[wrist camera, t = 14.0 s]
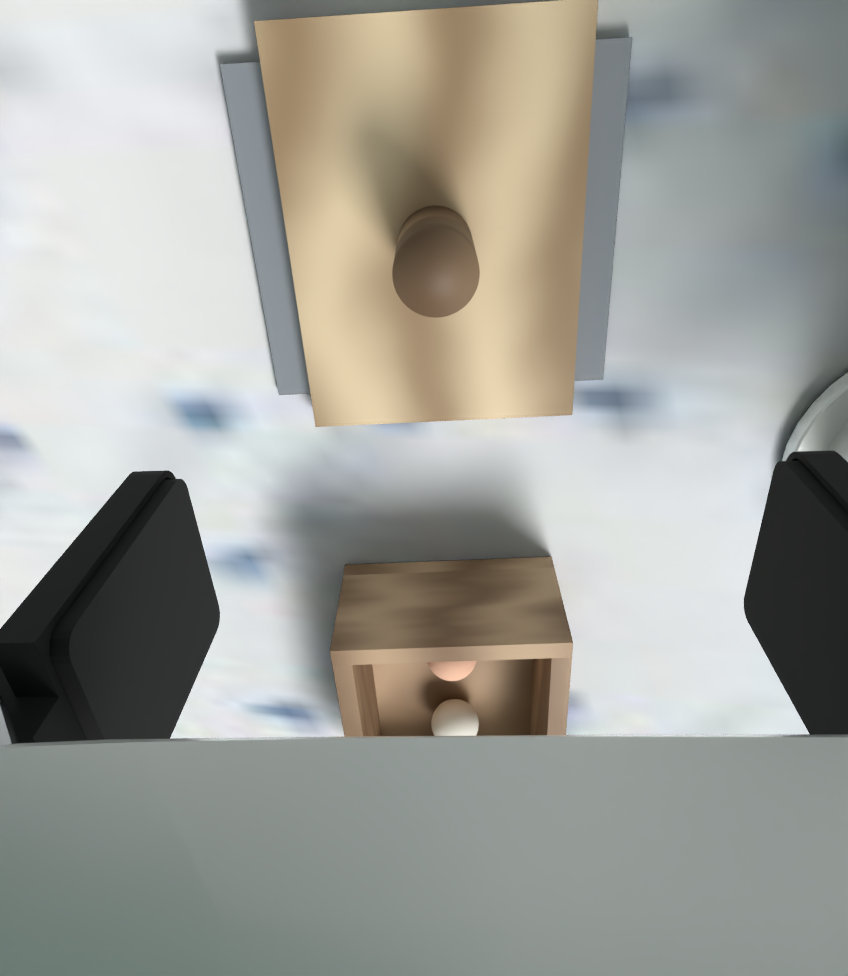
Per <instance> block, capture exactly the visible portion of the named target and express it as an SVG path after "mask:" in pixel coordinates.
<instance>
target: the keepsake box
mask: <svg viewBox="0 0 848 976" xmlns="http://www.w3.org/2000/svg"><path fill="white" fill-rule="evenodd" d="M572 649H573V641H572V637H571V633H570V629H569V625H568V621H567V617H566V613H565V609H564V605H563V601H562V597H561V593H560V589H559V585H558V581H557V577H556V573H555V569H554V565H553V561H552V557H530V558H505V559H479V560H453V561H428V562H402V563H377V564H351V565H345V568H344V574H343V579H342V585H341V591H340V597H339V602H338V608H337V614H336V620H335V625H334V631H333V637H332V642H331V648H330V654H331V660H332V666H333V672H334V677H335V683H336V689H337V695H338V701H339V706H340V712H341V718H342V724H343V730H344V735H345V737H358V736H434V734H433V731H432V726H431V721H432V716H433V713H434V711H435V709H436V708H437V707H438V706H439V705H440V704H441V703H442V702H444V701H446V700H449V699H460V700H463V701H465V702H467V703H468V704H470V705H471V706H472V707H473V709H474V710H475V712H476V714H477V717H478V721H479V728H478V732H477V735H476V736H485V735H566V726H567V713H568V700H569V688H570V675H571V662H572ZM456 661H477V662H476V665H475V667H474V669H473V670H472V672H471V673H470V674H469V675H468V676H466V677H465V678H463V679H461V680H458V681H447V680H443V679H441V678H439V677H438V676H436V675H435V674H434V673H433V672H432V670H431V669H430V667H429V665H428V663H427V662H456Z"/></svg>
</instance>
